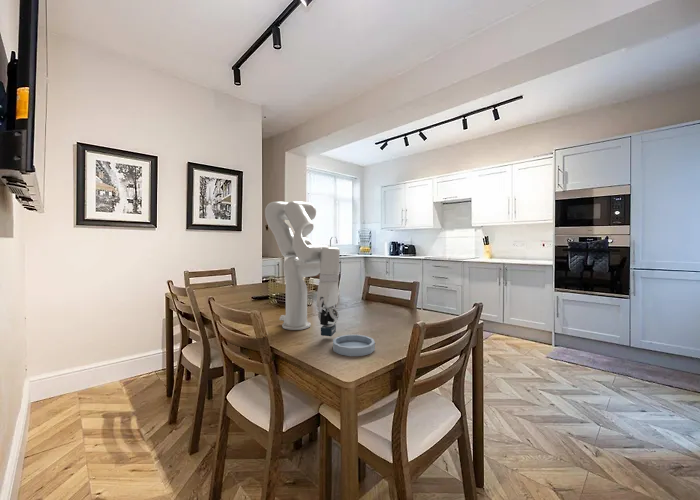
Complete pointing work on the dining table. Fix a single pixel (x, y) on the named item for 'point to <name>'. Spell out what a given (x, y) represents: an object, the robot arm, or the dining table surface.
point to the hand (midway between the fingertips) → (327, 322)
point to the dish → (353, 345)
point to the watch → (330, 328)
